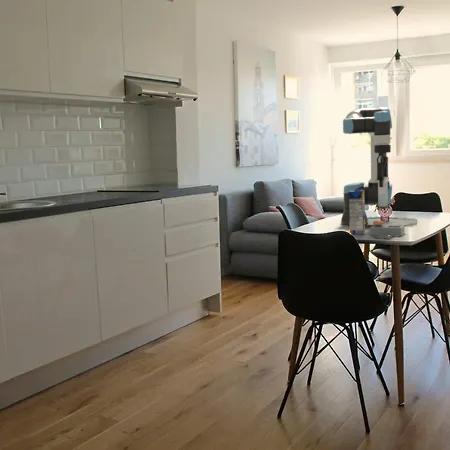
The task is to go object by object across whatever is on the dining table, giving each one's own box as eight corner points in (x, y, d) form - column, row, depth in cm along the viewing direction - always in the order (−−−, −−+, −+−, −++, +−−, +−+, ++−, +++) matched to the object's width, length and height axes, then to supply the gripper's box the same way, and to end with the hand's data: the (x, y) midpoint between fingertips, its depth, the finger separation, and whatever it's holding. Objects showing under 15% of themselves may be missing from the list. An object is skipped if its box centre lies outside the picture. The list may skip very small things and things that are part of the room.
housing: (370, 235, 299) (370, 227, 298) (374, 232, 307) (374, 224, 306) (400, 236, 292) (400, 228, 291) (404, 233, 300) (404, 225, 299)
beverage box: (349, 234, 303) (348, 191, 300) (351, 231, 313) (351, 189, 311) (363, 234, 301) (362, 191, 298) (365, 231, 311) (364, 189, 308)
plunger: (372, 232, 300) (372, 221, 299) (374, 231, 304) (374, 220, 304) (382, 233, 298) (381, 222, 297) (384, 231, 302) (384, 220, 301)
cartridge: (377, 206, 286) (376, 177, 284) (379, 205, 290) (379, 176, 288) (386, 206, 284) (386, 177, 282) (388, 205, 288) (388, 176, 286)
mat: (373, 238, 288) (373, 237, 288) (376, 236, 294) (376, 235, 294) (390, 239, 284) (390, 237, 284) (393, 236, 290) (393, 235, 290)
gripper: (386, 144, 274) (386, 195, 277) (394, 143, 289) (394, 191, 292) (369, 145, 277) (370, 195, 280) (378, 144, 293) (379, 191, 296)
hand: (382, 193), depth 286 cm, fingers closed on cartridge, 4 cm apart
